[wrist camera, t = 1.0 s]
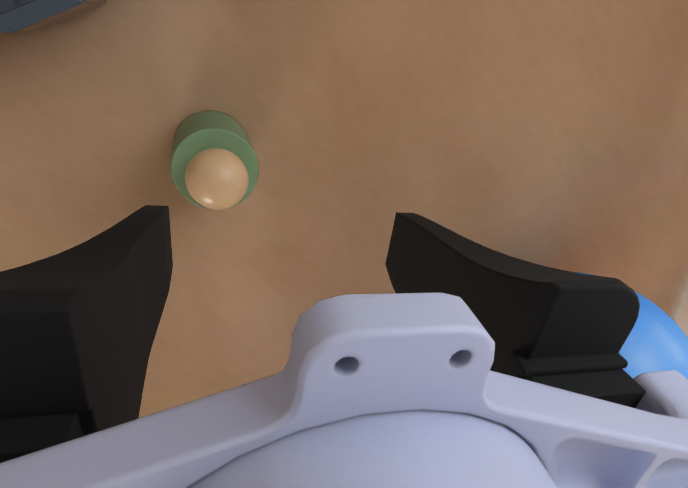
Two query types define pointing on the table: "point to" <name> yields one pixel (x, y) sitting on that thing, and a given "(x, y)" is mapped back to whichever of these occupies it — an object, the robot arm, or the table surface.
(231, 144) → the green cylinder with ball
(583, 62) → the table surface
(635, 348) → the treat dispenser ball
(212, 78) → the table surface
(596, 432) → the robot arm
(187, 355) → the table surface
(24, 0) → the bowl
